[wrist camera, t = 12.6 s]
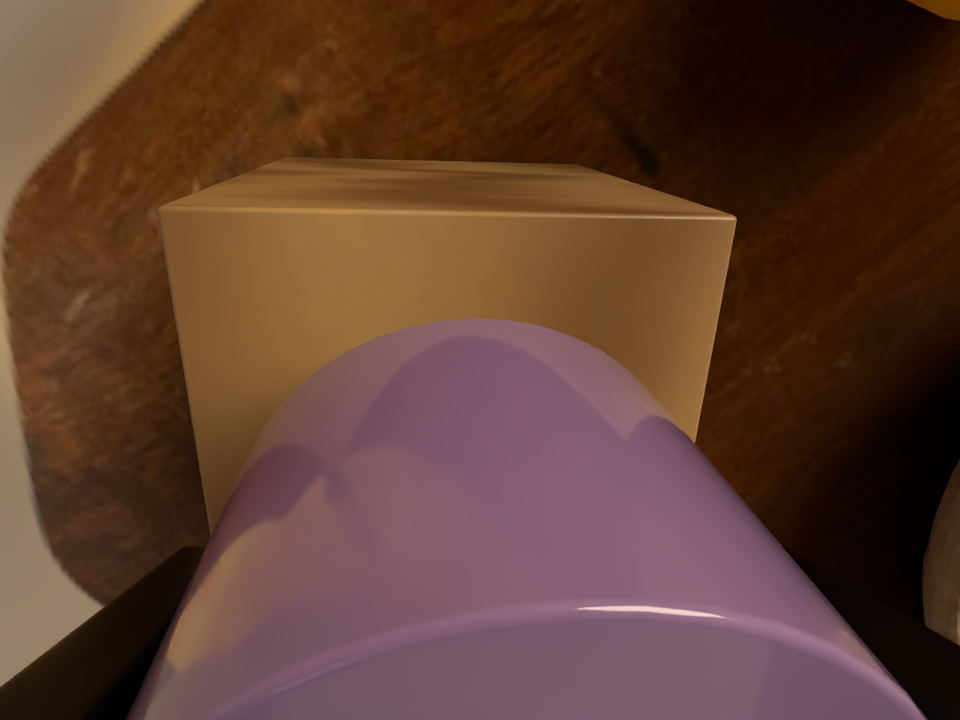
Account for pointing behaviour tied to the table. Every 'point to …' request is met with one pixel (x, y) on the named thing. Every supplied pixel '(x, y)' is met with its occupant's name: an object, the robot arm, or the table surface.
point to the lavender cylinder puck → (497, 557)
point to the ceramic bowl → (944, 565)
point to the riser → (427, 277)
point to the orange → (941, 7)
